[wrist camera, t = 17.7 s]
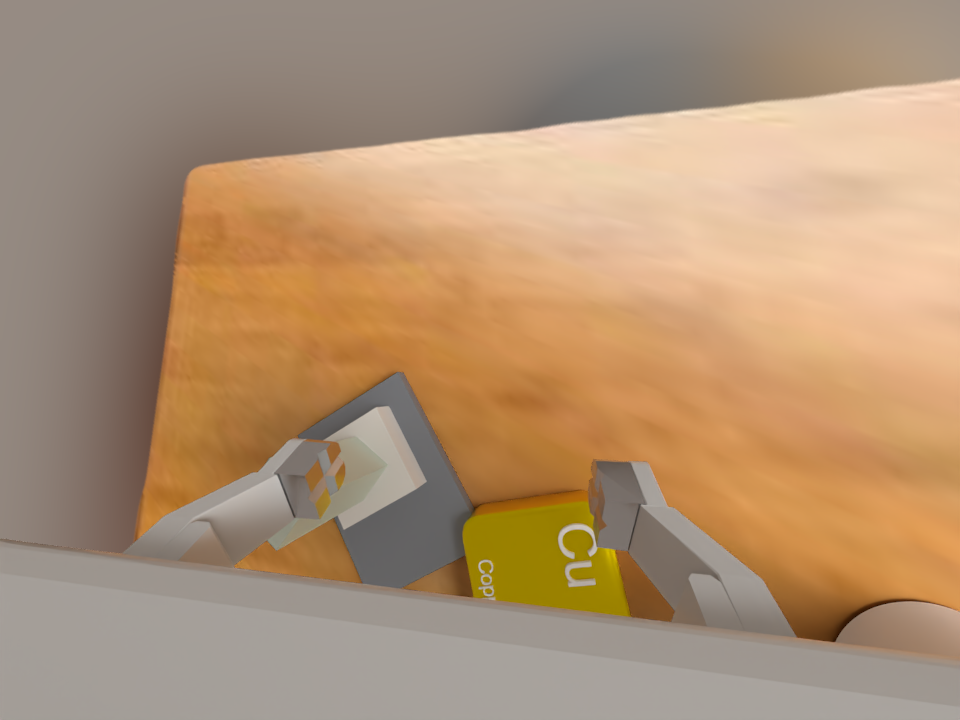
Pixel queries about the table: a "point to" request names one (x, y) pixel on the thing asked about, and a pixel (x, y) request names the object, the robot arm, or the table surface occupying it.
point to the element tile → (542, 555)
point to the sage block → (356, 486)
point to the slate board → (412, 514)
